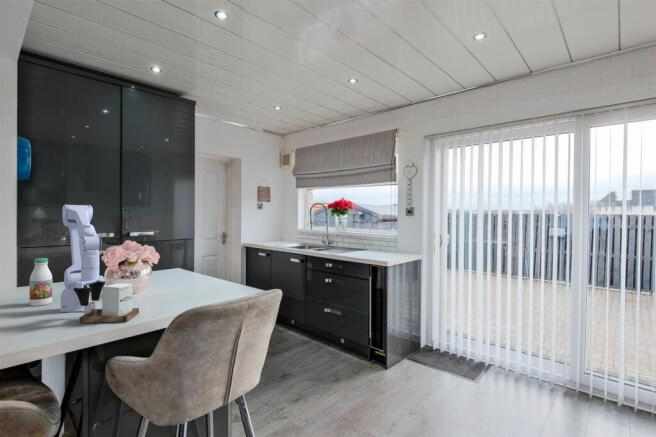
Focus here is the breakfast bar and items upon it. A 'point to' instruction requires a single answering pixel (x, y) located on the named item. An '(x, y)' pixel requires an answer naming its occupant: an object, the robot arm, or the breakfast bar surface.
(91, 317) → the wooden serving tray
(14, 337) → the breakfast bar surface
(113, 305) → the supplement box
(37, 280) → the milk bottle
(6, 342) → the breakfast bar surface
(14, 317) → the breakfast bar surface
